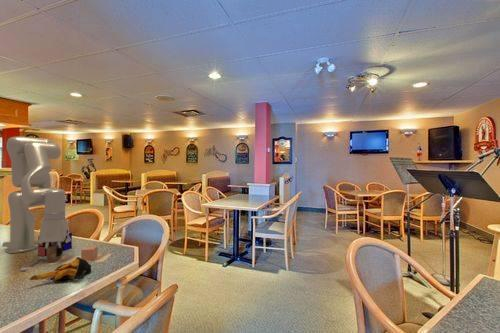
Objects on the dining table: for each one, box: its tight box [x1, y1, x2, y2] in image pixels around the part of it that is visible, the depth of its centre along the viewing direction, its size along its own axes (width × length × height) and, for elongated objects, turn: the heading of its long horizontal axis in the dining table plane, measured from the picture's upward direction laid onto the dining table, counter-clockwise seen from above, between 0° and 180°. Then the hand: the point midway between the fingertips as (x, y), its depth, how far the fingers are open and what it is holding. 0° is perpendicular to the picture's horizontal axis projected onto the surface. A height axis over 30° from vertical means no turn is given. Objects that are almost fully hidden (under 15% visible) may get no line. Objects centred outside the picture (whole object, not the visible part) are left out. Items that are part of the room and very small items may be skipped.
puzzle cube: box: [37, 231, 73, 257], centre depth 127 cm, size 10×10×10 cm
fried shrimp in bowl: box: [29, 257, 92, 284], centre depth 97 cm, size 9×11×18 cm
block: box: [80, 245, 99, 261], centre depth 117 cm, size 5×5×5 cm
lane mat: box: [19, 256, 47, 272], centre depth 115 cm, size 34×14×1 cm, turn 102°
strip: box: [44, 243, 112, 266], centre depth 116 cm, size 24×10×8 cm, turn 102°
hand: (54, 255), depth 114 cm, fingers closed on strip, 3 cm apart
